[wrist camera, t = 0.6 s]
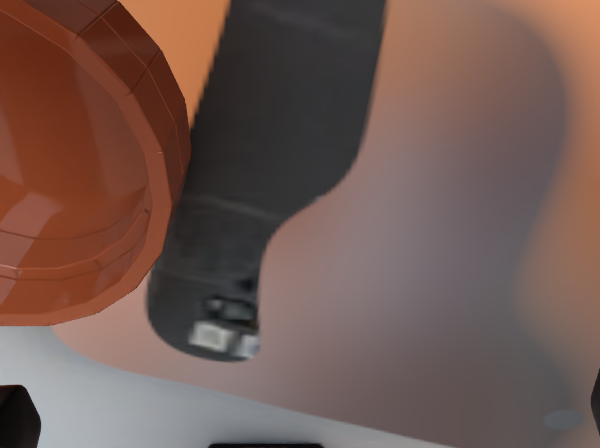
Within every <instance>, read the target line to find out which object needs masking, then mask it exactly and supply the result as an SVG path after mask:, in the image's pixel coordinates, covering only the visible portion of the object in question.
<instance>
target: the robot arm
mask: <svg viewBox="0 0 600 448" xmlns="http://www.w3.org/2000/svg"><path fill="white" fill-rule="evenodd" d="M591 408H592V413H593V416H594V419H595V422H596V426H597V428H598V432H599V435H600V369H599V373H598V376H597V379H596V382H595V386H594V388H593V392H592V395H591ZM40 432H41V420H40V416H39V414H38V412H37V410H36V408H35V406H34V404H33V402H32V400H31V397H30V395H29V393H28V391H27V390H26V388H25V387H23V386H22V385H1V386H0V448H37V444H38V440H39V436H40ZM208 448H324V447H323V446H321V445H319V444H212V445H210V446H209V447H208Z"/></svg>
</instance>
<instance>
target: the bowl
mask: <svg viewBox="0 0 600 448" xmlns="http://www.w3.org/2000/svg"><path fill="white" fill-rule="evenodd" d="M191 149H192V148H191V140H190V132H189V125H188V117H187V109H186V104H185V99H184V97H183V94H182V92H181V90H180V88H179V86H178V84H177V82H176V80H175V78H174V76H173V73H172V71H171V69H170V67H169V65H168V63H167V61H166V58H165V57H164V54H163V52H162V50H160V48H159V46H158V45H157V44H156V43H155V42H154V41H153V40H152V38H151V37H150V36H149V35H148V34H147V33H146V32H145V30H144V29H143V28H142V27H141V26H140V25H139V24H138V22H137V21H136V20H135V19H134V18H133V17H132V16H131V14H130V13H129V12H128V11H127V10H126V9H125V8H124V6H123V5H122V4H121V3H120V2H119V1H117V0H0V326H50V325H55V324H59V323H63V322H67V321H71V320H75V319H78V318H82V317H86V316H90V315H94V314H96V313H99V312H100V311H102V310H104V309H105V308H107V307H108V306H110V305H111V304H113V303H115V302H116V301H118V300H119V299H121V298H122V297H124V296H126V295H127V294H129V293H130V292H132V291H133V290H134V289H136V288H137V287H138V285H139V284H140V283H141V281H142V280H143V278H144V277H145V276H146V274H147V273H148V271H149V270H150V269H151V267H152V266H153V265H154V263H155V262H156V260H157V259H158V258H159V256H160V255H161V253H162V251H163V248H164V245H165V242H166V239H167V236H168V233H169V230H170V227H171V225H172V222H173V219H174V216H175V213H176V210H177V207H178V204H179V201H180V198H181V195H182V192H183V188H184V184H185V179H186V175H187V171H188V166H189V162H190V158H191V154H192V151H191Z"/></svg>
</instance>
